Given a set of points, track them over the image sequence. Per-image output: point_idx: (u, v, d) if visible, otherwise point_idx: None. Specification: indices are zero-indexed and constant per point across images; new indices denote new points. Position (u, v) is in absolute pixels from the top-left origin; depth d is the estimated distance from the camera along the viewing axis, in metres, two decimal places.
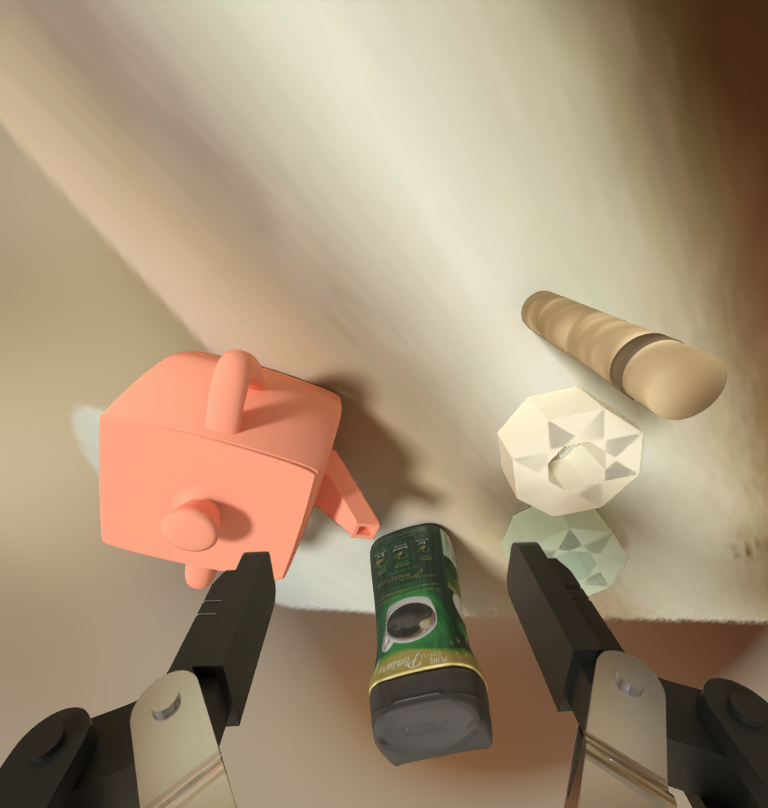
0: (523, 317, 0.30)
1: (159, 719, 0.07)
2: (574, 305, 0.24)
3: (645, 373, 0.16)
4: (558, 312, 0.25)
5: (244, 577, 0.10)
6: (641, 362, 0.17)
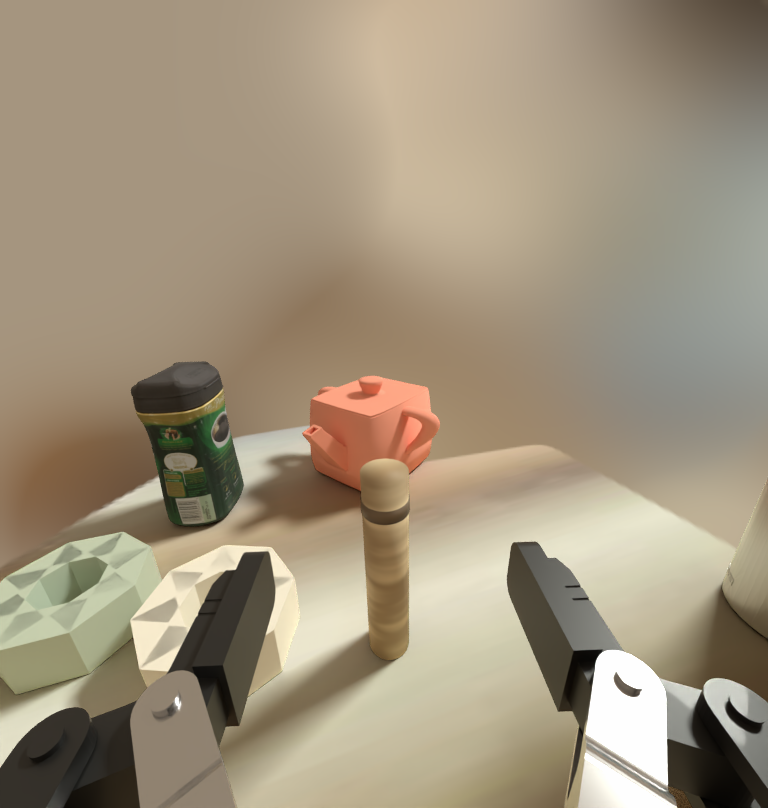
0: None
1: (159, 719, 0.07)
2: (408, 589, 0.27)
3: None
4: None
5: (244, 577, 0.10)
6: None
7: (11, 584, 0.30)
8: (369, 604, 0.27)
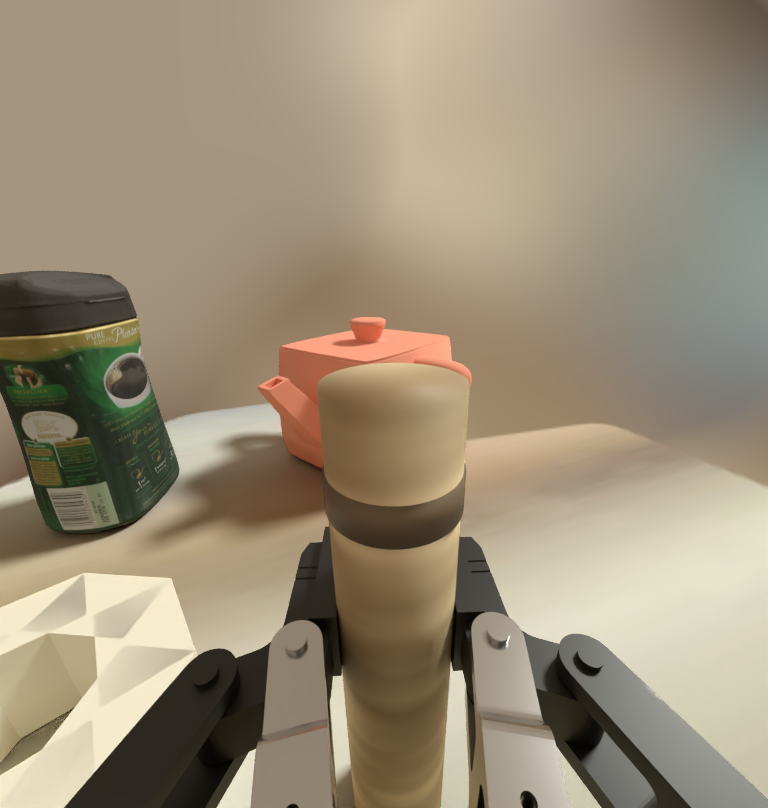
0: None
1: (295, 658, 0.08)
2: None
3: None
4: None
5: None
6: None
7: None
8: (351, 738, 0.11)
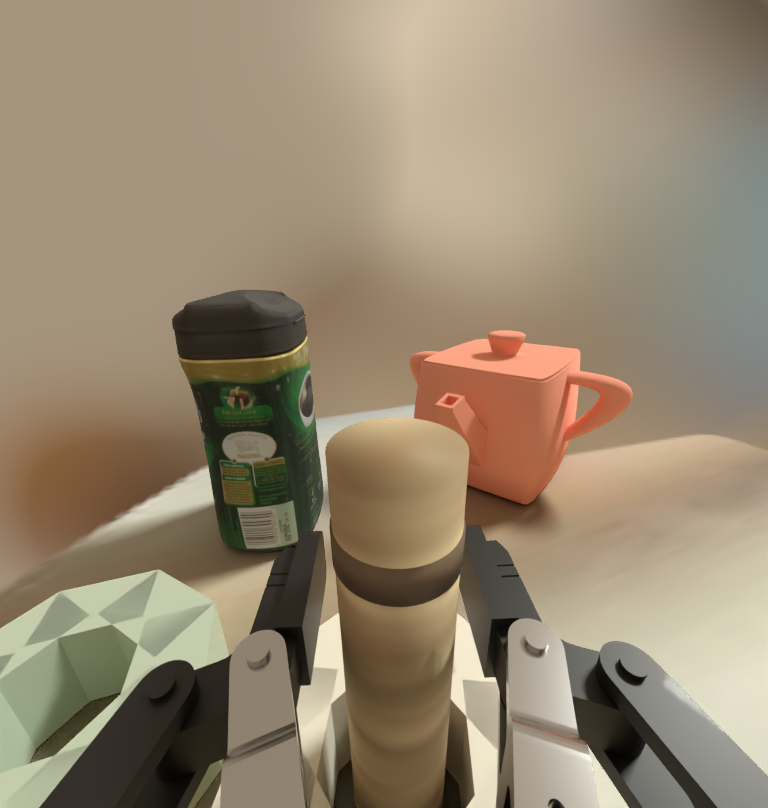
0: None
1: (256, 670, 0.08)
2: None
3: None
4: None
5: (306, 553, 0.11)
6: None
7: None
8: (355, 770, 0.11)
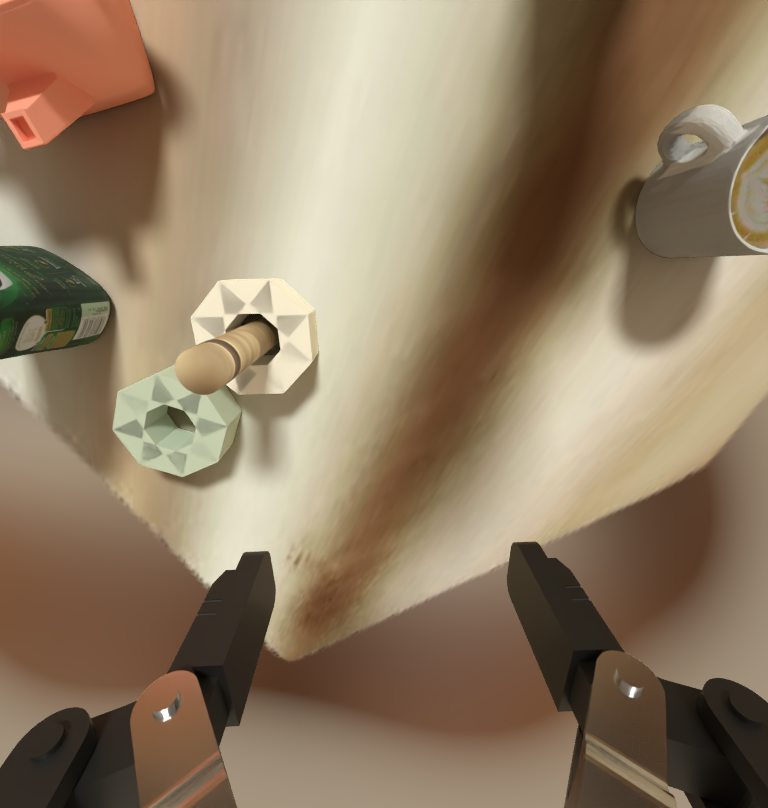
0: None
1: (159, 719, 0.07)
2: (260, 330, 0.33)
3: (193, 347, 0.24)
4: (250, 325, 0.33)
5: (244, 577, 0.10)
6: (202, 344, 0.24)
7: (151, 459, 0.39)
8: None
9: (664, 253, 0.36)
